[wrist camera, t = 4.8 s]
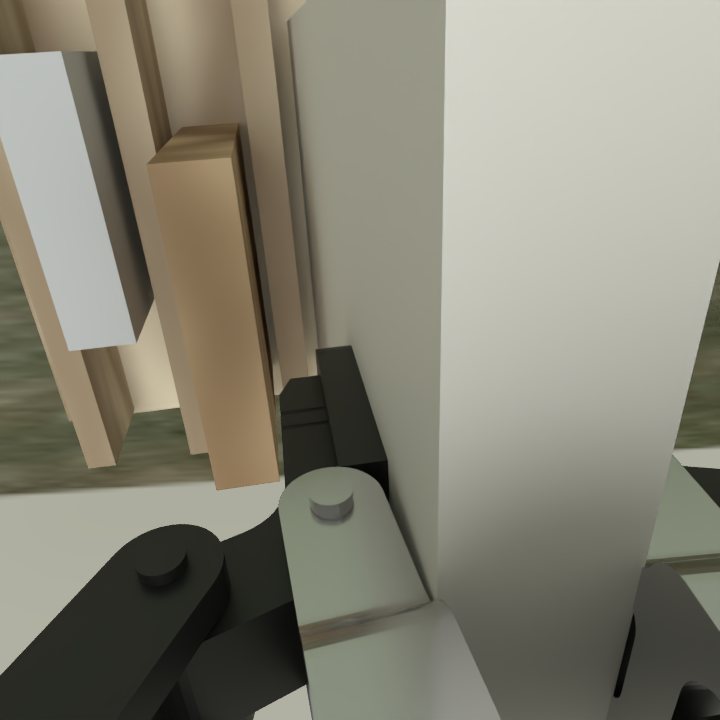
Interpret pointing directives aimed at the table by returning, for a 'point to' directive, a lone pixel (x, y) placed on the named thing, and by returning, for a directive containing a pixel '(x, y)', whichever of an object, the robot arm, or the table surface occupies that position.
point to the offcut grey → (75, 194)
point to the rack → (138, 146)
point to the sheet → (517, 296)
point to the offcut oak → (219, 298)
